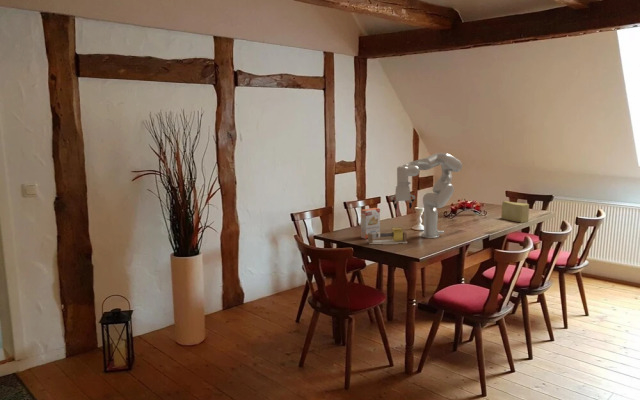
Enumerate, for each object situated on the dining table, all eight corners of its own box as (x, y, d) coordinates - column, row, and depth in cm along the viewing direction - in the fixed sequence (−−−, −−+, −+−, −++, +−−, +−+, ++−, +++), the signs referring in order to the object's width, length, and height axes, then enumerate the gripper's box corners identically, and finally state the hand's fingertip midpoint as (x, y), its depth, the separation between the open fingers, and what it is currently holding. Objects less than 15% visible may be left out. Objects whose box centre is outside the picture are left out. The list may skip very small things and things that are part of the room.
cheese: (498, 219, 407) (498, 201, 404) (505, 217, 412) (505, 200, 410) (521, 223, 388) (522, 204, 386) (528, 221, 394) (529, 203, 391)
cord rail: (403, 240, 342) (403, 229, 340) (407, 243, 333) (407, 232, 332) (367, 241, 339) (367, 231, 338) (370, 245, 330) (370, 234, 329)
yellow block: (399, 237, 340) (400, 227, 339) (402, 240, 333) (402, 229, 332) (391, 238, 339) (391, 227, 338) (394, 240, 332) (394, 229, 331)
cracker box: (366, 239, 346) (365, 210, 343) (360, 238, 351) (360, 209, 348) (380, 236, 354) (380, 208, 351) (374, 235, 359) (374, 207, 356)
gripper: (414, 183, 336) (414, 207, 338) (389, 183, 336) (389, 208, 339) (416, 184, 328) (416, 209, 331) (390, 185, 329) (391, 210, 332)
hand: (403, 208), depth 335 cm, fingers open, 9 cm apart
